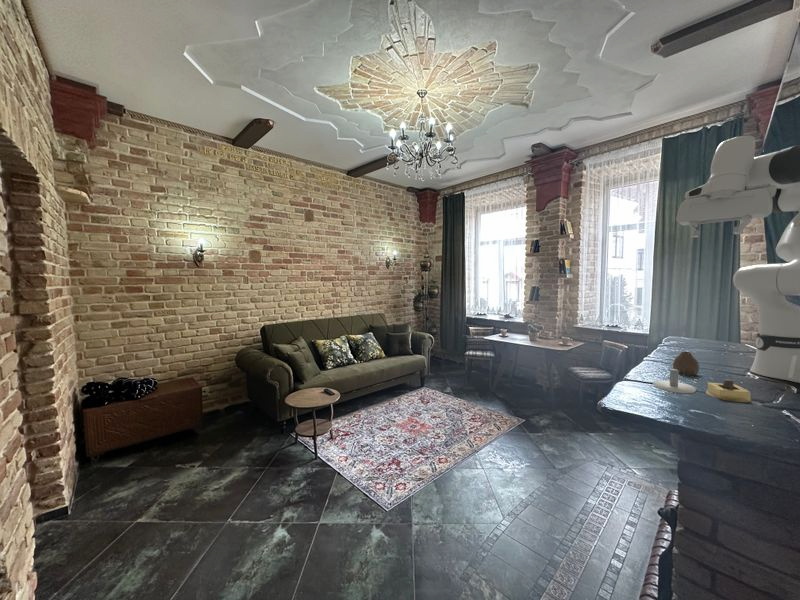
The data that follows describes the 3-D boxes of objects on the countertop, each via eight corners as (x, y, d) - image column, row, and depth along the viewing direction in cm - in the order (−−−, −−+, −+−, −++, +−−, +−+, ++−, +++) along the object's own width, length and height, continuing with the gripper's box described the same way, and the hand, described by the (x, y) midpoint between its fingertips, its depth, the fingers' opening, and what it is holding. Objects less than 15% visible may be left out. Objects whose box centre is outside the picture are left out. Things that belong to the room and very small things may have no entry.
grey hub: (686, 388, 101) (686, 366, 100) (702, 399, 92) (703, 376, 91) (648, 385, 104) (648, 364, 104) (660, 395, 95) (660, 373, 95)
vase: (704, 379, 108) (704, 354, 107) (680, 379, 109) (681, 354, 109) (689, 373, 115) (690, 350, 114) (668, 373, 116) (668, 349, 115)
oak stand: (738, 396, 93) (739, 376, 92) (759, 408, 84) (760, 387, 84) (699, 393, 96) (700, 374, 96) (716, 404, 88) (716, 383, 87)
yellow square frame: (735, 392, 92) (736, 384, 92) (750, 401, 86) (750, 392, 86) (707, 390, 94) (707, 382, 94) (719, 398, 88) (719, 389, 88)
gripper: (782, 186, 86) (771, 235, 85) (687, 201, 104) (678, 241, 104) (774, 177, 83) (763, 227, 83) (679, 193, 101) (669, 235, 101)
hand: (715, 235), depth 93 cm, fingers open, 8 cm apart
